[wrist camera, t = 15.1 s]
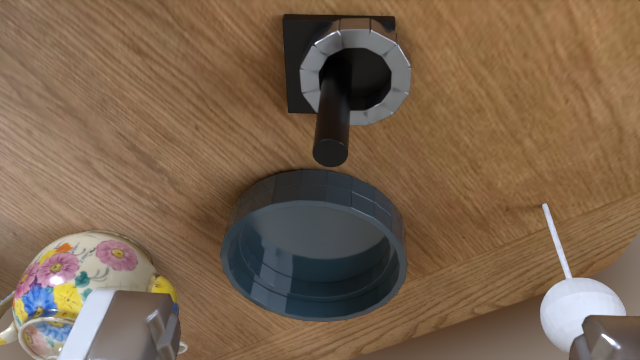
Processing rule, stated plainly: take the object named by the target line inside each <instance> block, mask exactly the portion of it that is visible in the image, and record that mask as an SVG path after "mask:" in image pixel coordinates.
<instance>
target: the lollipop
mask: <svg viewBox="0 0 640 360" xmlns="http://www.w3.org/2000/svg"><path fill="white" fill-rule="evenodd" d="M542 207H543V210H544V213H545V216H546V219H547V222H548V225H549V229H550V232H551V235H552V238H553V241H554V244H555V247H556V250H557V253H558V256H559V259H560V262H561V265H562V268H563V271H564V274H565V277H566V280H563V281H561V282H559V283H557V284H556V285H554V286H553V287H552V288H551V289H550V290H549V291H548V292H547V294H546V295H545V297H544V299H543V301H542V304H541V310H540V318H541V323H542V326H543V328H544V331H545V334H546V335H547V336H548V338H549V339H550V340H551V342H552V343H553V344H554V345H555V346H556V347H558V348H559V349H561V350H562V351H564V352H565V353H567V354H569V352H570V347H571V345H572V342H573V340H574V338H576V337H578V336H579V335H581V334H583V333H584V332H583V329H582V326H581V324H582V323H583V321H584V319H585V317H587V316H589V315H616V316H626V312H625V309H624V306H623V304H622V302H621V301H620V299H619V298H618V296H617V295H616V294H615V293H614V292H613V291H612V290H611V289H610V288H608V287H607V286H606V285H604V284H602V283H600V282H598V281H596V280H592V279H589V278H572V276H571V273H570V270H569V267H568V264H567V261H566V258H565V255H564V252H563V249H562V246H561V244H560V241H559V238H558V235H557V232H556V229H555V226H554V223H553V220H552V217H551V214H550V211H549V208H548V206H547V204H543V205H542Z"/></svg>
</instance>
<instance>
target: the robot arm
mask: <svg viewBox="0 0 640 360" xmlns="http://www.w3.org/2000/svg"><path fill="white" fill-rule="evenodd" d="M173 304H174V302H173V300H172V297H171V295H170V293H156V292H141V291H126V290H114V289H94V290H93V291H92V292H91V293H90V294H89V295H88V296H87V298H86V300H85V302H84V304H83V306H82V308H81V311H80V313H79V315H78V317H77V319H76V321H75V323H74V325H73V327H72V329H71V331H70V333H69V336H68V338H67V340H66V342H65V344H64V346H63V348H62V350H61V352H60V354H59V356H58V358H57V360H176V357H177V354H178V350H179V345H180V336H181V329H180V322H179V318H178V316H177V315H175V314H174V313H173V312H171V310H172V307H173ZM581 326H582V329H583V332H584V333H583V334H581V335H579V336H578V337H576V338H574V340H573V342H572V345H571V347H570V352H569V360H640V316H616V315H589V316H587V317H585V319H584V321H583V323H582V324H581Z"/></svg>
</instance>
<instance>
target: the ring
mask: <svg viewBox="0 0 640 360" xmlns="http://www.w3.org/2000/svg"><path fill="white" fill-rule="evenodd" d="M344 48H366V49H368V50H370V51H372V52H374V53H376V54H378V55H380V56H382V57H383V59H384V60H385V62H386V64H387V65H388V67H389V68H390V70H391V73H390V78H389V79H388V81H387V82H386V84H385V85H384V86H383V88H382V89H381V90H380V91H378V92H376V93H374V94H372V95H370V96H368V97H366V98H351V109H350V126H368V125H369V124H370V125H372V124H374V123H376V122H378V121H380V120H382V119H385V118H387V117H389V116H391V115H393V113H395V112H396V111H397V109H398V108H399V107H400V105H401V104H402V103H403V101H404V100H405V99H406V97H407V96H408V95H409V92H410V85H411V70H412V68H411V58H410V54H409V52H408V50H407V49H406V47H405V45H404V44H403V42H402V40H401V38H400V37H399V35H398V34H397V33H396V32H395V31H394V30H392V29H390V28H388V27H386V26H384V25H383V24H381V23H379V22H377V21H375V20H373V19H371V20H370V19H369V18H345V19H341V21H340V20H337V21H335V22H333V23H332V24H330V25H328V26H326V27H325V28H323V29H321V30H319V31H318V32H316V34H314V35H313V37H312V39H311V40H310V42H309V44H308V46H307V48H306V49H305V51H304V53H303V55H302V59H301V64H300V81H301V92H302V93H303V96H304V97H305V98H306V100H307V101H308V102H309V104H310V105H311V106H312V108H313V109H314V110H315V112H316V113H318V107H319V99H320V92H321V84H322V76H321V68H322V66H323V65H324V63H325V61H326V60H327V58H328V57H329V56H331V55H333V54H334V53H336V52H338V51H340V50H342V49H344Z"/></svg>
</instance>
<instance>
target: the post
mask: <svg viewBox="0 0 640 360" xmlns="http://www.w3.org/2000/svg"><path fill="white" fill-rule="evenodd" d="M345 18H369V19H370V20H371V19H373V20H375V21H377V22H379V23H381V24H383V25H384V26H386V27H388V28H390V29H392V30H394V31H395V17H394V16H348V15H298V14H284V17H283V20H282V21H283V38H284V54H285V70H286V87H287V103H288V113H309V114H317V122H316V129H315V137H314V145H313V157H314V159H315V160H316V161H317V162H318V163H319V164H321V165H323V166H326V167H336V166H339V165H341V164H343V163H344V162H345V161H346V159H347V157H348V145H349V127H350V109H351V98H366V97H368V96H370V95H372V94H374V93H376V92H378V91H380V90H381V89H382V88H383V86H384V85H385V84H386V82H387V81H388V79H389V78H390V73H391V70H390V68H389V67H388V65H387V64H386V62H385V60H384V59H383V57H382V56H380V55H378V54H376V53H374V52H372V51H370V50H368V49H366V48H344V49H342V50H340V51H338V52H336V53H334V54H333V55H331V56H329V57H328V58H327V60H326V61H325V63H324V65H323V66H322V68H321V76H322V84H321V92H320V99H319V107H318V113H316V112H315V110H314V109H313V108H312V106H311V105H310V104H309V102H308V101H307V100H306V98H305V97H304V96H303V93H302V92H301V81H300V64H301V59H302V55H303V53H304V51H305V49H306V48H307V46H308V44H309V42H310V40H311V39H312V37H313V35H314V34H316V32H318V31H319V30H321V29H323V28H325V27H326V26H328V25H330V24H332V23H333V22H335V21H337V20H340V21H341V19H345Z"/></svg>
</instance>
